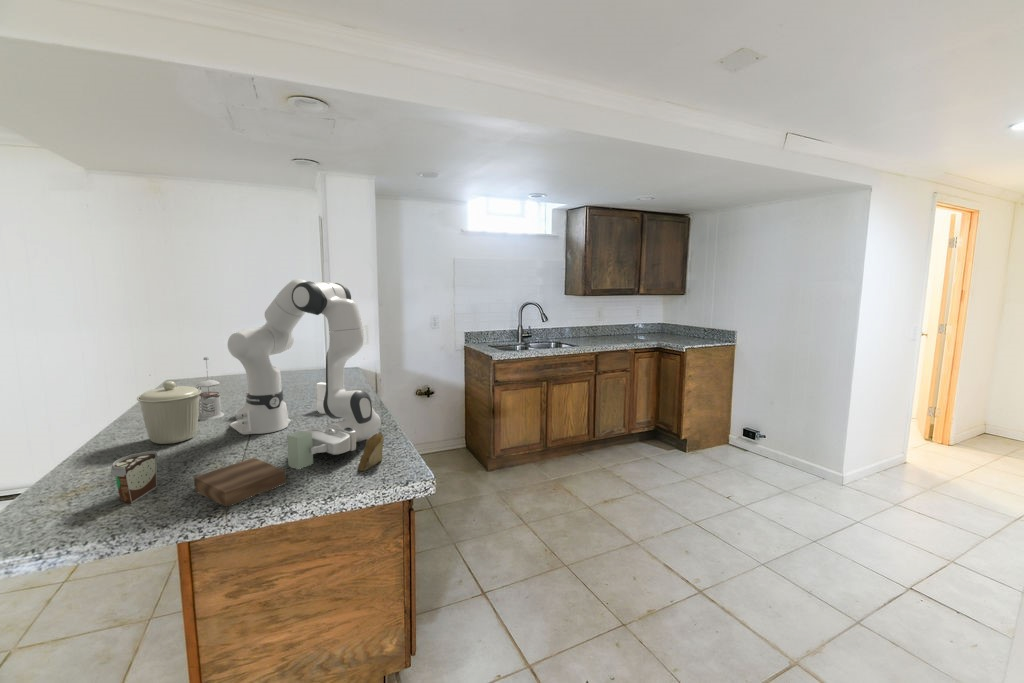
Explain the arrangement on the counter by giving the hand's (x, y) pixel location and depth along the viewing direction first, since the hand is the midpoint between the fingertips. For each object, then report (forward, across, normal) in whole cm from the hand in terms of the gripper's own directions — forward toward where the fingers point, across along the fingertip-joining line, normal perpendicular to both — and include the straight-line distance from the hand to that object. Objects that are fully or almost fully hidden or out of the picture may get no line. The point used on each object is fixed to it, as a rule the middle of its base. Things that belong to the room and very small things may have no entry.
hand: (300, 448), depth 139 cm
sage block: (0, 0, +6) cm, 6 cm away
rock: (-12, +17, +6) cm, 21 cm away
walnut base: (+18, 0, +6) cm, 19 cm away
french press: (-9, -76, +6) cm, 77 cm away
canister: (+11, -57, +6) cm, 58 cm away
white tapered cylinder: (-42, -43, +6) cm, 60 cm away
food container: (+36, -19, +6) cm, 41 cm away
